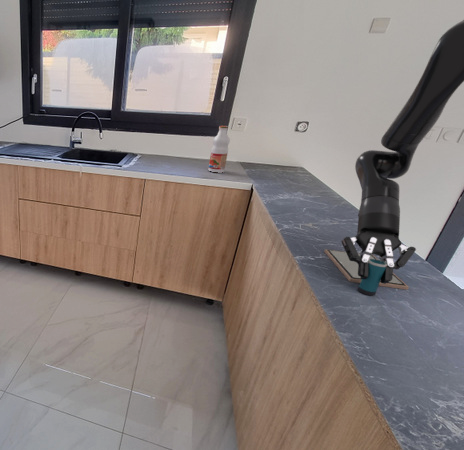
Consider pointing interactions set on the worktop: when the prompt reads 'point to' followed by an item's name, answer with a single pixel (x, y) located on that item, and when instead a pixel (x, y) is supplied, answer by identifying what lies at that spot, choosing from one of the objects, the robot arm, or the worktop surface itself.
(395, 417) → the worktop surface
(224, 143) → the fruit juice
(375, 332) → the worktop surface
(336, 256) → the tablet
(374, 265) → the tumbler
